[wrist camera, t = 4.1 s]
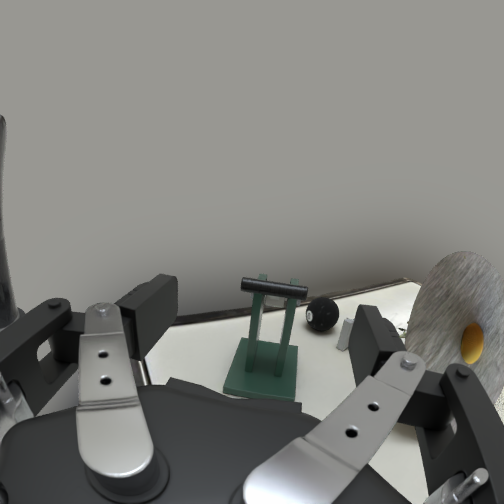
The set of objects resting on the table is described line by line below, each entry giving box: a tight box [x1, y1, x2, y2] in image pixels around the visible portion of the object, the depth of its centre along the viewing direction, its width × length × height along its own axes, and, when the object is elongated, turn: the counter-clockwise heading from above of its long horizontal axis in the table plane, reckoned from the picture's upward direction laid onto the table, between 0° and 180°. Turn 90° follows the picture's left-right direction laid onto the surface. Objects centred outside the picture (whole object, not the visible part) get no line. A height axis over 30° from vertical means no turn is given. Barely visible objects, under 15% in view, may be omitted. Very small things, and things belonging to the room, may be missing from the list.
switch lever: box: [241, 277, 308, 308], centre depth 29 cm, size 13×6×2 cm, turn 171°
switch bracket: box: [223, 274, 301, 402], centre depth 36 cm, size 12×9×14 cm
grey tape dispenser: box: [337, 318, 354, 351], centre depth 46 cm, size 6×1×10 cm
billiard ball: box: [306, 297, 339, 331], centre depth 50 cm, size 6×6×6 cm
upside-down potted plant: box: [398, 251, 504, 434], centre depth 32 cm, size 25×18×25 cm
